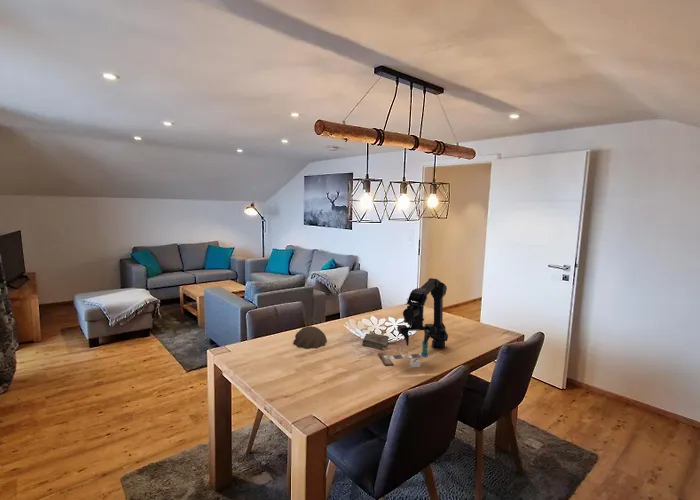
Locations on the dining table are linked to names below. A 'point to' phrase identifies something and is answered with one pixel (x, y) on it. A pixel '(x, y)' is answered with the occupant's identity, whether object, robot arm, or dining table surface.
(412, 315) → the robot arm
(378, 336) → the marble piece
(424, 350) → the pawn
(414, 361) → the die
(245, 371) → the dining table surface
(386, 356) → the board
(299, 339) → the decorative dome
